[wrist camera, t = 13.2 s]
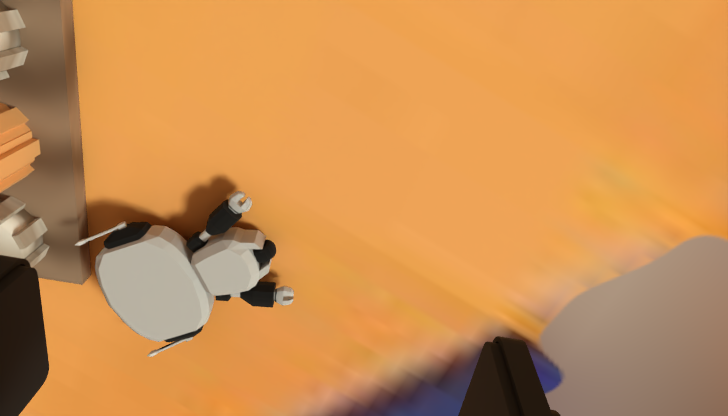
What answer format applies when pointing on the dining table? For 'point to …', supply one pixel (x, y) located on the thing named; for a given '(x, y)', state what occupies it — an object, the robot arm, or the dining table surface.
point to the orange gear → (15, 147)
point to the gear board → (45, 140)
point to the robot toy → (184, 273)
